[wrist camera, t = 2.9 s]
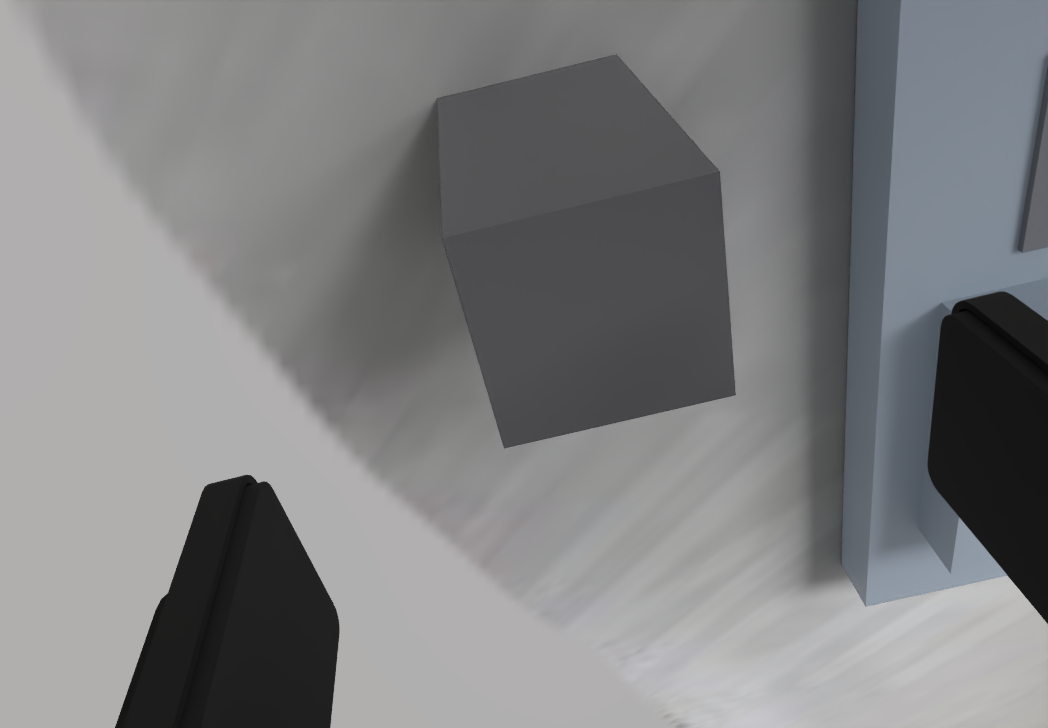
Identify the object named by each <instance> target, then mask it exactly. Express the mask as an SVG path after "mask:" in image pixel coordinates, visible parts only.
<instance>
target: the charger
mask: <svg viewBox="0 0 1048 728" xmlns="http://www.w3.org/2000/svg"><path fill="white" fill-rule="evenodd" d="M437 108H438V138H439V168H440V198H441V227H442V240H443V244H444V247H445V250H446V254H447V257H448V260H449V264H450V267H451V271H452V274H453V277H454V281H455V284H456V287H457V291H458V294H459V298H460V301H461V304H462V308H463V311H464V314H465V318H466V321H467V325H468V328H469V331H470V335H471V338H472V341H473V345H474V348H475V352H476V355H477V358H478V362H479V365H480V368H481V372H482V375H483V378H484V382H485V385H486V389H487V392H488V395H489V399H490V402H491V405H492V409H493V412H494V416H495V419H496V422H497V426H498V429H499V432H500V436H501V439H502V443H503V446H504V448H508V447H512V446H517V445H521V444H525V443H530V442H534V441H538V440H543V439H547V438H552V437H556V436H560V435H565V434H569V433H573V432H578V431H582V430H586V429H591V428H595V427H599V426H604V425H608V424H612V423H617V422H621V421H625V420H630V419H634V418H639V417H643V416H647V415H652V414H656V413H660V412H665V411H669V410H673V409H678V408H682V407H686V406H691V405H695V404H699V403H704V402H708V401H712V400H717V399H721V398H726V397H730V396H734V395H736V393H735V379H734V365H733V351H732V337H731V323H730V309H729V295H728V281H727V267H726V253H725V239H724V225H723V211H722V197H721V183H720V171H719V170H718V169H717V168H716V167H715V166H714V164H713V163H712V162H711V161H710V160H709V159H708V158H707V157H706V155H705V154H704V153H703V152H702V151H701V150H700V149H699V147H698V146H697V145H696V144H695V143H694V142H693V141H692V140H691V138H690V137H689V136H688V135H687V134H686V133H685V132H684V130H683V129H682V128H681V127H680V126H679V125H678V124H677V123H676V121H675V120H674V119H673V118H672V117H671V116H670V115H669V113H668V112H667V111H666V110H665V109H664V108H663V107H662V105H661V104H660V103H659V102H658V101H657V100H656V99H655V98H654V96H653V95H652V94H651V93H650V92H649V91H648V90H647V88H646V87H645V86H644V85H643V84H642V83H641V82H640V81H639V79H638V78H637V77H636V76H635V75H634V74H633V73H632V71H631V70H630V69H629V68H628V67H627V66H626V65H625V64H624V62H623V61H622V60H621V59H620V58H619V57H618V56H617V54H616V55H612V56H608V57H604V58H600V59H596V60H592V61H588V62H584V63H580V64H576V65H572V66H567V67H563V68H559V69H555V70H551V71H547V72H543V73H539V74H535V75H531V76H527V77H523V78H519V79H515V80H510V81H506V82H502V83H498V84H494V85H490V86H486V87H482V88H478V89H474V90H470V91H466V92H462V93H458V94H454V95H449V96H445V97H441V98H437Z"/></svg>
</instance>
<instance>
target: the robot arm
mask: <svg viewBox="0 0 1048 728" xmlns="http://www.w3.org/2000/svg"><path fill="white" fill-rule="evenodd" d="M927 467H928V473H929V476H930V479H931V481H932V483H933V485H934V487H935V488H936V490H937V491H938V492H939V494H940V495H941V496H942V497H943V498H944V500H945V501H946V502H947V503H948V504H949V506H950V507H951V508H952V509H953V510H954V512H955V513H956V514H957V515H958V516H959V518H960V519H961V520H962V521H963V522H964V524H965V525H966V526H967V527H968V528H969V530H970V531H971V532H972V533H973V534H974V536H975V537H976V538H977V539H978V540H979V542H980V543H981V544H982V545H983V546H984V548H985V549H986V550H987V551H988V552H989V554H990V555H991V556H992V557H993V558H994V560H995V561H996V562H997V563H998V564H999V566H1000V567H1001V568H1002V569H1003V570H1004V572H1005V573H1006V574H1007V575H1008V576H1009V578H1010V579H1011V580H1012V581H1013V583H1014V584H1015V585H1016V586H1017V587H1018V589H1019V590H1020V591H1021V592H1022V593H1023V595H1024V596H1025V597H1026V598H1027V599H1028V601H1029V602H1030V603H1031V604H1032V605H1033V607H1034V608H1035V609H1036V610H1037V611H1038V613H1039V614H1040V615H1041V616H1042V617H1043V619H1044V620H1045V621H1046V622H1047V623H1048V320H1046V319H1045V318H1044V317H1042V316H1041V315H1039V314H1038V313H1037V312H1035V311H1034V310H1032V309H1031V308H1030V307H1028V306H1027V305H1026V304H1024V303H1023V302H1021V301H1020V300H1019V299H1017V298H1016V297H1014V296H1013V295H1012V294H1010V293H1007V292H1004V291H999V292H995V293H991V294H987V295H982V296H978V297H974V298H970V299H966V300H962V301H959V302H958V303H956V304H955V305H954V307H953V309H952V312H951V314H950V315H947V316H945V317H944V318H943V320H942V323H941V328H940V339H939V349H938V359H937V369H936V379H935V390H934V400H933V410H932V420H931V431H930V441H929V451H928V461H927ZM338 642H339V620H338V615H337V611H336V608H335V606H334V605H333V602H332V600H331V598H330V596H329V595H328V593H327V591H326V589H325V587H324V585H323V583H322V581H321V579H320V577H319V576H318V574H317V572H316V570H315V568H314V566H313V564H312V562H311V560H310V559H309V557H308V555H307V553H306V551H305V549H304V547H303V545H302V544H301V541H300V540H299V538H298V536H297V534H296V532H295V530H294V528H293V526H292V524H291V523H290V521H289V519H288V517H287V515H286V513H285V511H284V509H283V507H282V506H281V504H280V502H279V500H278V498H277V496H276V494H275V492H274V490H273V489H272V487H271V486H270V484H269V483H267V482H260V483H257V481H256V480H255V479H254V478H253V477H252V476H251V475H244V476H240V477H237V478H232V479H228V480H224V481H220V482H216V483H211V484H208V485H207V486H205V488H204V490H203V492H202V494H201V497H200V500H199V503H198V506H197V509H196V512H195V515H194V518H193V521H192V524H191V527H190V530H189V533H188V536H187V539H186V542H185V545H184V548H183V551H182V554H181V556H180V559H179V562H178V565H177V568H176V572H175V574H174V577H173V580H172V583H171V587H170V589H169V592H168V594H167V595H166V596H164V597H163V598H162V599H161V601H160V603H159V605H158V607H157V609H156V611H155V614H154V617H153V620H152V622H151V625H150V628H149V631H148V634H147V637H146V640H145V643H144V646H143V648H142V651H141V654H140V657H139V660H138V663H137V666H136V669H135V672H134V675H133V677H132V681H131V683H130V686H129V689H128V692H127V695H126V698H125V700H124V703H123V707H122V709H121V712H120V715H119V718H118V721H117V724H116V726H115V728H330V724H331V714H332V703H333V692H334V682H335V672H336V662H337V651H338Z"/></svg>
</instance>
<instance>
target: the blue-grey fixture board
mask: <svg viewBox="0 0 1048 728" xmlns="http://www.w3.org/2000/svg"><path fill="white" fill-rule="evenodd" d="M999 291H1004V292H1007V293H1010V294H1012V295H1013V296H1014V297H1016V298H1017V299H1019V300H1020V301H1021V302H1023V303H1024V304H1026V305H1027V306H1028V307H1030V308H1031V309H1032V310H1034V311H1035V312H1037V313H1038V314H1039V315H1041V316H1042V317H1044V318H1045V319H1046V320H1048V0H858V15H857V49H856V83H855V117H854V151H853V185H852V219H851V253H850V287H849V321H848V355H847V389H846V423H845V457H844V491H843V525H842V559H841V564H842V566H843V568H844V569H845V571H846V573H847V575H848V576H849V578H850V580H851V582H852V583H853V585H854V587H855V589H856V590H857V592H858V594H859V596H860V597H861V599H862V601H863V603H864V604H865V606H871V605H875V604H880V603H884V602H889V601H893V600H898V599H902V598H907V597H912V596H916V595H921V594H925V593H930V592H934V591H939V590H943V589H948V588H952V587H957V586H962V585H966V584H971V583H975V582H980V581H984V580H989V579H993V578H998V577H1002V576H1007V574H1006V573H1005V572H1004V570H1003V569H1002V568H1001V567H1000V566H999V564H998V563H997V562H996V561H995V560H994V558H993V557H992V556H991V555H990V554H989V552H988V551H987V550H986V549H985V548H984V546H983V545H982V544H981V543H980V542H979V540H978V539H977V538H976V537H975V536H974V534H973V533H972V532H971V531H970V530H969V528H968V527H967V526H966V525H965V524H964V522H963V521H962V520H961V519H960V518H959V516H958V515H957V514H956V513H955V512H954V510H953V509H952V508H951V507H950V506H949V504H948V503H947V502H946V501H945V500H944V498H943V497H942V496H941V495H940V494H939V492H938V491H937V490H936V488H935V487H934V485H933V483H932V481H931V479H930V476H929V473H928V467H927V461H928V451H929V441H930V431H931V420H932V410H933V400H934V390H935V379H936V369H937V359H938V349H939V339H940V328H941V323H942V320H943V318H944V317H945V316H947V315H950V314H951V312H952V309H953V307H954V305H955V304H956V303H958V302H959V301H962V300H966V299H970V298H974V297H978V296H982V295H987V294H991V293H995V292H999Z"/></svg>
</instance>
